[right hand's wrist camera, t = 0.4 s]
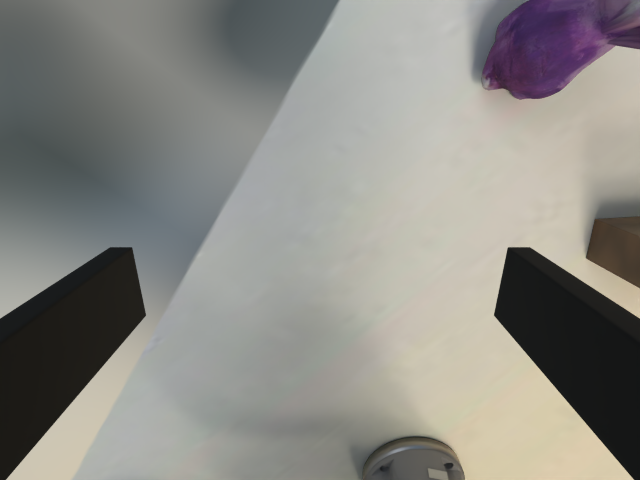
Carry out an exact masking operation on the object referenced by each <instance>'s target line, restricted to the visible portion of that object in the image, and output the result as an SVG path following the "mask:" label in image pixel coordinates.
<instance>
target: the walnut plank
mask: <svg viewBox="0 0 640 480" xmlns="http://www.w3.org/2000/svg"><path fill="white" fill-rule="evenodd" d="M587 259H588V260H590V261H592V262H594V263H595V264H597V265H599V266H601V267H603V268H604V269H606V270H608V271H610V272H612V273H613V274H615V275H617V276H619V277H621V278H622V279H624V280H626V281H628V282H630V283H631V284H633V285H635V286H637V287H639V288H640V217H623V218H606V219H595V222H594V227H593V231H592V235H591V240H590V244H589V249H588V253H587Z"/></svg>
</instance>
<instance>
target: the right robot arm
mask: <svg viewBox="0 0 640 480" xmlns="http://www.w3.org/2000/svg"><path fill="white" fill-rule="evenodd" d="M145 316H146V313H145V308H144V303H143V298H142V294H141V289H140V284H139V279H138V274H137V269H136V264H135V259H134V254H133V250H132V247H110V248H109V249H107V250H105V251H104V252H102V253H101V254H99V255H98V256H96V257H95V258H93V259H92V260H90V261H88V262H87V263H85V264H84V265H82V266H81V267H79V268H78V269H76V270H75V271H73V272H71V273H70V274H68V275H67V276H65V277H64V278H62V279H61V280H59V281H58V282H56V283H55V284H53V285H51V286H50V287H48V288H47V289H45V290H44V291H42V292H41V293H39V294H38V295H36V296H34V297H33V298H31V299H30V300H28V301H27V302H25V303H24V304H22V305H21V306H19V307H18V308H16V309H14V310H13V311H11V312H10V313H8V314H7V315H5V316H4V317H2V318H1V319H0V480H6V479H7V478H8V477H9V475H10V474H11V473H12V472H13V471H14V470H15V468H16V467H17V466H18V465H19V464H20V462H21V461H22V460H23V459H24V458H25V457H26V455H27V454H28V453H29V452H30V451H31V450H32V448H33V447H34V446H35V445H36V444H37V443H38V441H39V440H40V439H41V438H42V437H43V436H44V434H45V433H46V432H47V431H48V430H49V428H50V427H51V426H52V425H53V424H54V423H55V421H56V420H57V419H58V418H59V417H60V416H61V414H62V413H63V412H64V411H65V410H66V408H67V407H68V406H69V405H70V404H71V403H72V402H73V400H74V399H75V398H76V397H77V396H78V395H79V393H80V392H81V391H82V390H83V389H84V387H85V386H86V385H87V384H88V383H89V382H90V380H91V379H92V378H93V377H94V376H95V375H96V373H97V372H98V371H99V370H100V369H101V368H102V366H103V365H104V364H105V363H106V362H107V361H108V359H109V358H110V357H111V356H112V355H113V353H114V352H115V351H116V350H117V349H118V348H119V346H120V345H121V344H122V343H123V342H124V341H125V339H126V338H127V337H128V336H129V335H130V334H131V332H132V331H133V330H134V329H135V328H136V326H137V325H138V324H139V323H140V322H141V321H142V319H143V318H144V317H145ZM494 316H495V317H496V318H497V319H498V321H499V322H500V323H501V324H502V325H503V327H504V328H505V329H506V330H507V331H508V332H509V334H510V335H511V336H512V337H513V338H514V339H515V341H516V342H517V343H518V344H519V345H520V346H521V348H522V349H523V350H524V351H525V352H526V353H527V355H528V356H529V357H530V358H531V359H532V361H533V362H534V363H535V364H536V365H537V366H538V368H539V369H540V370H541V371H542V372H543V373H544V375H545V376H546V377H547V378H548V379H549V380H550V382H551V383H552V384H553V385H554V386H555V387H556V389H557V390H558V391H559V392H560V393H561V395H562V396H563V397H564V398H565V399H566V400H567V402H568V403H569V404H570V405H571V406H572V407H573V409H574V410H575V411H576V412H577V413H578V414H579V416H580V417H581V418H582V419H583V420H584V421H585V423H586V424H587V425H588V426H589V427H590V428H591V430H592V431H593V432H594V433H595V434H596V436H597V437H598V438H599V439H600V440H601V441H602V443H603V444H604V445H605V446H606V447H607V448H608V450H609V451H610V452H611V453H612V454H613V455H614V457H615V458H616V459H617V460H618V461H619V462H620V464H621V465H622V466H623V467H624V468H625V470H626V471H627V472H628V473H629V474H630V475H631V477H632V478H633V479H634V480H640V319H639V318H638V317H636V316H635V315H633V314H632V313H630V312H629V311H627V310H626V309H624V308H622V307H621V306H619V305H618V304H616V303H615V302H613V301H612V300H610V299H609V298H607V297H606V296H604V295H602V294H601V293H599V292H598V291H596V290H595V289H593V288H592V287H590V286H589V285H587V284H585V283H584V282H582V281H581V280H579V279H578V278H576V277H575V276H573V275H572V274H570V273H569V272H567V271H565V270H564V269H562V268H561V267H559V266H558V265H556V264H555V263H553V262H552V261H550V260H548V259H547V258H545V257H544V256H542V255H541V254H539V253H538V252H536V251H535V250H533V249H531V248H530V247H508V250H507V254H506V259H505V264H504V269H503V274H502V279H501V284H500V289H499V294H498V298H497V303H496V308H495V313H494ZM363 480H465V477H464V472H463V470H462V467H461V465H460V462H459V459H458V457H457V456H456V454H455V453H454V452H453V450H452V449H450V448H449V447H448V446H446V445H445V444H443V443H441V442H438V441H436V440H432V439H428V438H419V437H413V438H404V439H399V440H396V441H393V442H390V443H388V444H386V445H384V446H382V447H380V448H379V449H377V450H376V451H375V452H374V453H373V454H372V455H371V456H370V457H369V458H368V460H367V461H366V463H365V466H364V469H363Z"/></svg>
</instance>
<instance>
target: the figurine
mask: <svg viewBox="0 0 640 480" xmlns="http://www.w3.org/2000/svg"><path fill="white" fill-rule="evenodd" d="M614 46H622V47H629V48H635V49H640V0H529V1H527V2H525V3H523V4H522V5H520V6H519V7H518V8H517V9H515V10H514V11H513V12H512V13H511V14H509V15H508V16H507V17H506V18H504V19H503V21H502V22H501V23H500V24H499V26H498V28H497V32H496V42H495V43H494V45H493V47H492V48H491V50H490V52H489V55H488V58H487V61H486V64H485V66H484V69H483V73H482V86H483V88H484V89H486V90H494V89H501V88H503V89H507V90H509V91H510V92H511V93H512V95H513V96H514V97H515V98H517V99H526V98H531V99H540V98H544V97H548V96H550V95H553V94H555V93H557V92H559V91H560V90H562V89H563V88H564V87H565V86H566V85H567V84H568V83H569V82H570V81H572V80H573V78H574V77H575V76H576V75H577V74H578V73H580V72H581V71H582V70H583V69H584V68H586V67H587V66H588V65H590V64H591V63H592V62H594V61H595V60H597V59H598V58H599V57H601V56H602V55H604V54H605V53H606V52H608V51H609V50H611V49H612V48H613V47H614Z"/></svg>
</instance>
